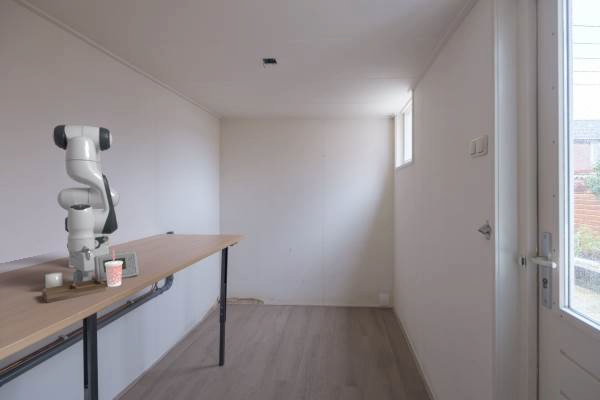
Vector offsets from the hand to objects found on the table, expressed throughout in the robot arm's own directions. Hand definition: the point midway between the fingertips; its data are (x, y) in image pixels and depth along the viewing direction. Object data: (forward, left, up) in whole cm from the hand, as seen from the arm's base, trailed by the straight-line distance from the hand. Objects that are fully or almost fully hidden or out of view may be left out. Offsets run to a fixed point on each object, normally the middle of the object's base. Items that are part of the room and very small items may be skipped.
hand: (82, 279), depth 123 cm
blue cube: (0, 0, -2) cm, 2 cm away
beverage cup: (+11, +8, -2) cm, 14 cm away
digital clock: (+2, +12, -2) cm, 12 cm away
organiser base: (+11, -5, -2) cm, 13 cm away
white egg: (0, -9, -2) cm, 9 cm away
